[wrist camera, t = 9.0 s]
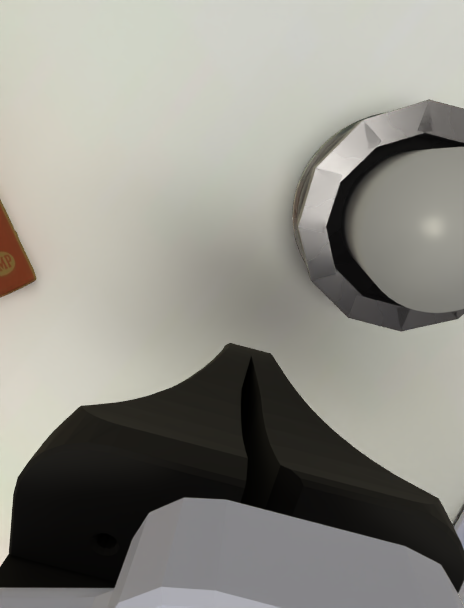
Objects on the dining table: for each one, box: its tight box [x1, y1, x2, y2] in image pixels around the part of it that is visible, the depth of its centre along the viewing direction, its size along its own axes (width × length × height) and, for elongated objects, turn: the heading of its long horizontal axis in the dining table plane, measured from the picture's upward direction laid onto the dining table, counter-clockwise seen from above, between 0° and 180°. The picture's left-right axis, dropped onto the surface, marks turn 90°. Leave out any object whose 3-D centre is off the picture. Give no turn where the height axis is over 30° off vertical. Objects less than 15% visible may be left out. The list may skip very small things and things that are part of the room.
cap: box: [341, 147, 464, 313], centre depth 14 cm, size 5×5×4 cm
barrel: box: [292, 100, 464, 331], centre depth 18 cm, size 8×8×5 cm
